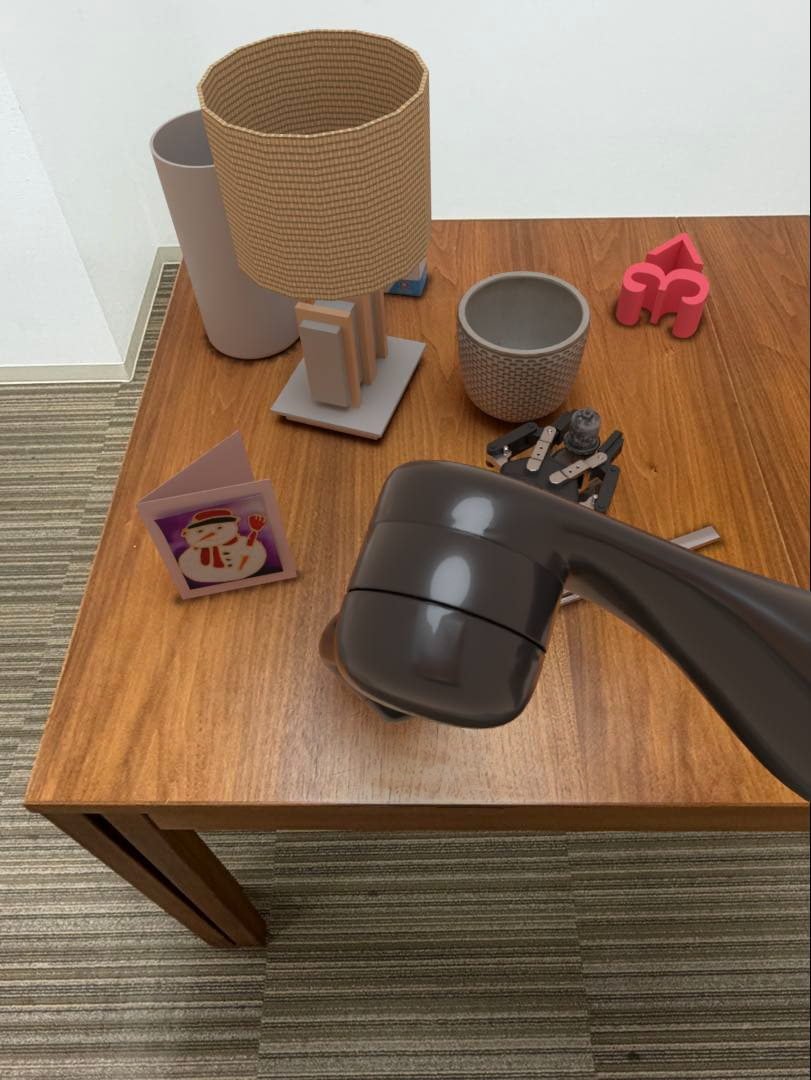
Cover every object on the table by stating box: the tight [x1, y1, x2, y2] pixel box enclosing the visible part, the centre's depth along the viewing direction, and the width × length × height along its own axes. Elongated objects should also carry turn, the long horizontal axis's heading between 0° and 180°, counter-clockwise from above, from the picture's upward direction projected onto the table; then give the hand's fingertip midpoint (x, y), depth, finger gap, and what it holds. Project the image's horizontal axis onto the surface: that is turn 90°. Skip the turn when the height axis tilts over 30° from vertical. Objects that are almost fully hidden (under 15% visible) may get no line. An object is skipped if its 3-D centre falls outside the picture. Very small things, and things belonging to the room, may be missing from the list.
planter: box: [456, 270, 592, 424], centre depth 88 cm, size 14×14×13 cm
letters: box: [615, 232, 710, 339], centre depth 101 cm, size 14×10×5 cm
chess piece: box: [551, 406, 602, 502], centre depth 80 cm, size 6×6×12 cm
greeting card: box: [134, 428, 298, 600], centre depth 75 cm, size 11×7×15 cm, turn 102°
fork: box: [559, 525, 721, 608], centre depth 79 cm, size 19×3×1 cm, turn 111°
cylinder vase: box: [149, 108, 303, 360], centre depth 93 cm, size 12×12×25 cm
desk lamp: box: [195, 28, 433, 441], centre depth 81 cm, size 20×20×35 cm
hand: (596, 426), depth 80 cm, fingers open, 4 cm apart
